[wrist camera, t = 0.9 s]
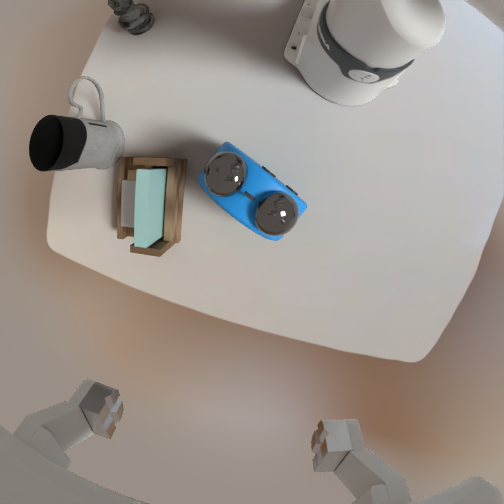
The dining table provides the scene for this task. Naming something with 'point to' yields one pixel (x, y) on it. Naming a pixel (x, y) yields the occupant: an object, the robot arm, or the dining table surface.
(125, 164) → the rack
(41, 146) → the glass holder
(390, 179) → the dining table surface
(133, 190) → the grey offcut
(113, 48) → the dining table surface
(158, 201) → the panel
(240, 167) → the alarm clock
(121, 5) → the dark grey figurine
